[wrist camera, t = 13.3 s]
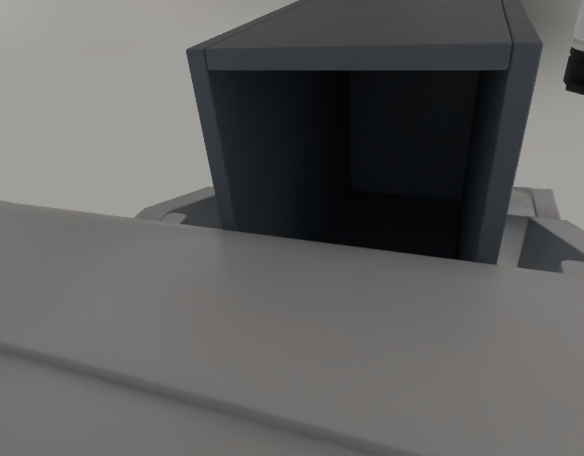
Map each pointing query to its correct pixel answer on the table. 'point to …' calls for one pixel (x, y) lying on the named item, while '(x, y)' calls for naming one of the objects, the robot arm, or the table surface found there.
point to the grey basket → (370, 122)
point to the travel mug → (576, 58)
